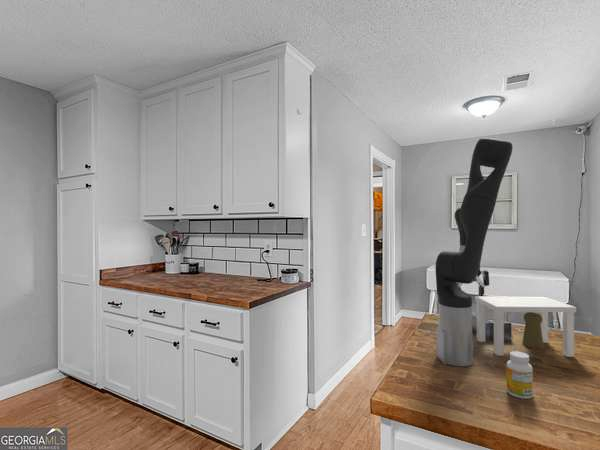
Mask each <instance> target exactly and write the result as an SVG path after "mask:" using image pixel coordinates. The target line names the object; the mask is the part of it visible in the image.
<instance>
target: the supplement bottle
mask: <svg viewBox="0 0 600 450" xmlns="http://www.w3.org/2000/svg"><path fill="white" fill-rule="evenodd" d="M529 362H530V355H529V354H527V353H525V352H522V351H517V350H515V351H510V352H509V360H507V362H506V391H507V393H508V394H510V395H511V396H512V397H515V398H519V399H525V400H526V399H531V398H533V395H534V382H533V381H534V380H533V379H534V374H533V373H534V371H533V366H532V365H531V364H530V363H529Z"/></svg>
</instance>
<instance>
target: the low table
mask: <svg viewBox="0 0 600 450" xmlns="http://www.w3.org/2000/svg"><path fill="white" fill-rule="evenodd" d="M474 301H475V302H476V314H477V333H476V341H477V342H479V343H483V342H484V343H486V339H485V319H486V308H488V309H490V310H492V311H493V321H494V340H493V354H495V355H496V356H498V357H499V356H504V355H505V354H504V353H505V351H504V350H505V347H504V345H505V343H504V342H505V340H504V321H505V320H504V319H505V318H504V317H505V316H504V314H505V313H527V312H533V313H538V314H540V315H541V316H542V323H541V324H540V326H541V332H542V338H543V344H545V343H546V344H548V343H549V313H562V355H563V356H565V357H567V358H569V357H570V358H571V357H572V358H574V357H575V313H577V306H574V305H570V304H568V303H565V302H562V301H558V300H556V299H552V298H550V297H547V296H518V295H517V296H516V295H515V296H508V295H507V296H506V295H505V296H504V295H502V296H501V295H497V296H496V295H491V296H490V295H489V296H488V295H486V296H484V295H483V296H479V295H477V296H476V295H475V296H474Z"/></svg>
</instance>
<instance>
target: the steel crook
mask: <svg viewBox="0 0 600 450" xmlns="http://www.w3.org/2000/svg"><path fill="white" fill-rule="evenodd" d="M473 330H474V331H475V332H474V331H473ZM472 331H473V332H474V333H476V332H477V312H474V310H472ZM486 340H487V341H488V340H489V341H490V340H491V341H494V320H489V319H487V318H485V341H486ZM504 341H512V322H510V321H508V320H504Z"/></svg>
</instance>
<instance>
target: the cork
mask: <svg viewBox="0 0 600 450" xmlns="http://www.w3.org/2000/svg"><path fill="white" fill-rule="evenodd" d="M523 314H524V315H523V320H524V322H525V325H524V331H523V336H522V337H523V338H522V345H523V346H525V347H527V348H533V349H538V350H539V349H540V350H541V349H544V348H545V347H544V343H543V338H542V332H541V326H540V324H541V323H542V316H541V315H540V314H538V312H524V313H523Z"/></svg>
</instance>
